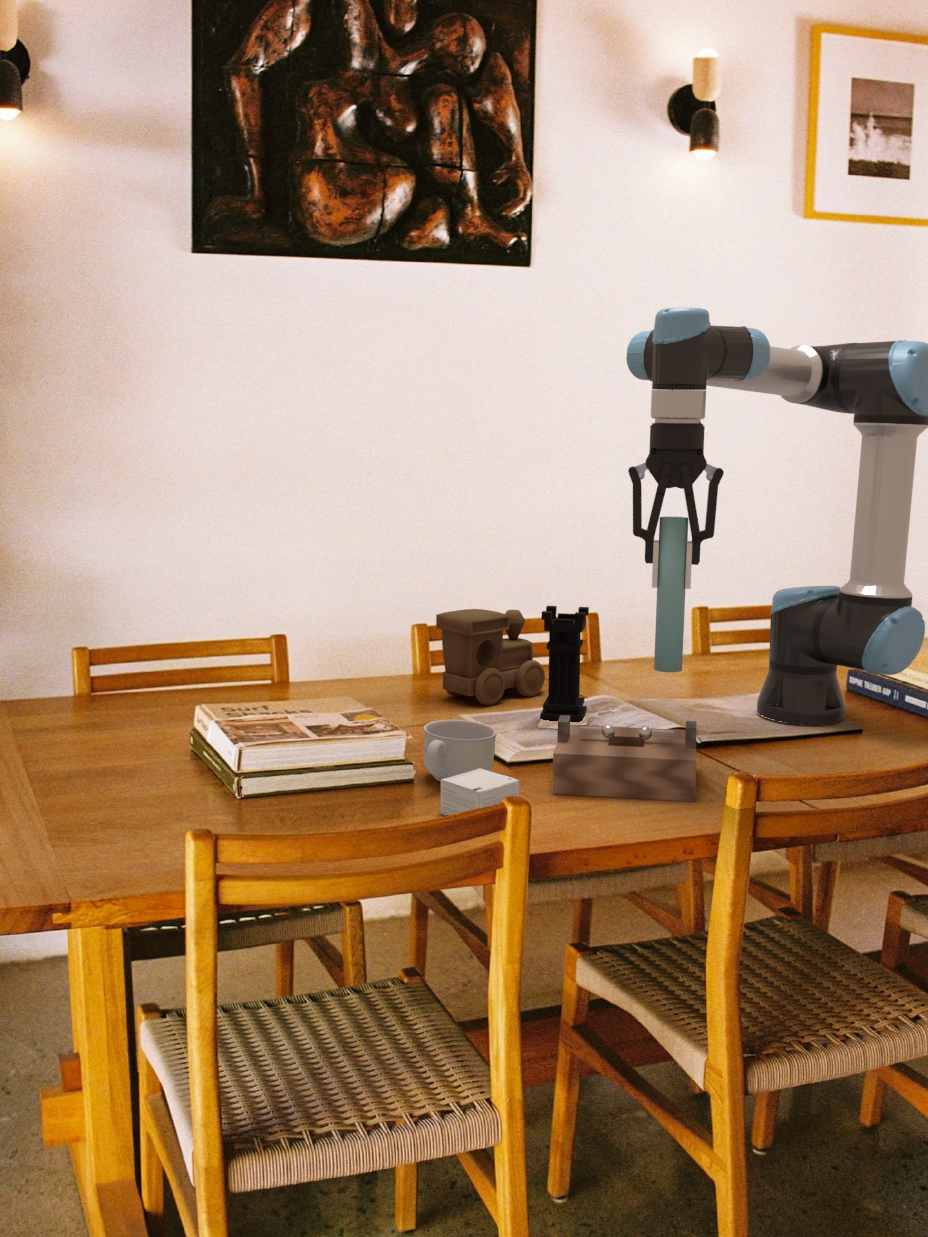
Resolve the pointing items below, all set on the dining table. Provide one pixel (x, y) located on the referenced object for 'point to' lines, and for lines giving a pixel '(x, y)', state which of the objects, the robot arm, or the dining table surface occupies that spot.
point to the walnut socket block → (625, 763)
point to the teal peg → (670, 594)
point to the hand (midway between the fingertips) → (671, 586)
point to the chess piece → (564, 664)
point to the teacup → (457, 747)
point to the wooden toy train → (487, 655)
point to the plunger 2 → (654, 733)
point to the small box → (475, 790)
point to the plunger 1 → (599, 730)
